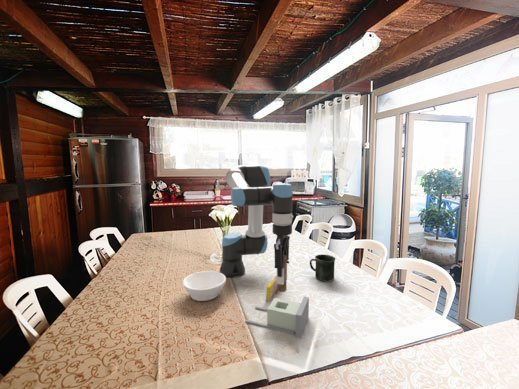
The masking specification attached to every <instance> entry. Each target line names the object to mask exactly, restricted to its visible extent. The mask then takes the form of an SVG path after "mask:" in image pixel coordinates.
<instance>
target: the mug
mask: <svg viewBox="0 0 519 389" xmlns="http://www.w3.org/2000/svg"><path fill="white" fill-rule="evenodd" d="M335 261H336V257H335V256H332V255H329V254H317V255H315V257H314V258H312V259H310V260H309V267H310V269H311V270H312V271H314V272H315V274H314V275H315V278H316V279H317V280H319V281H321V282H332V281H333V280H335V263H336V262H335ZM312 262H315V268H314V266H313V263H312Z"/></svg>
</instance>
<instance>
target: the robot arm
mask: <svg viewBox="0 0 519 389" xmlns="http://www.w3.org/2000/svg"><path fill="white" fill-rule="evenodd" d="M225 181H226V182H225V183H227V184H226V185H228V187H230V188H231V190H230V203H231V205H232V206H234V207H248V215H247V216H248V219H247V229H246V231H245V233H244V234H245V235H244V234H242V233H240V232H231V233H228V234H226V235H224V236H222V238H221V239H222V241H221V248H222V249H221V251H222V261H221V263H220V264H221V265H220V266H219V273H222V274H224V275H225V277H226V278H230V279H231V278H239V277H241V276H243V275H245V274H246V268H245V265H244V264H245V263H244V261H243V256H247V255H249V256H250V255H252V256H253V255H260V254H264V253H265V252H266V251H267V249H268V236H267V234H266V233H265V231H264V230H263V225H264V224H263V222H264V219H263V218H264V206H272V220H271V221H272V223H273V224H272V233H273V235H276V240H275V243H274V244H273V249H274V267H273V268H274V269H276V275H277V284H282V285H284V268H283V262H284V255H286V256H287V265H288V264H290V261H289V260H290V257H289V256H290V238H291V237H290V235H292V233H293V225H292V222H293V218H294V215H293V194H294V192H293V185H292V184H291V183H286V182H285V183H284V182H283V183H281V182H279V183H273V185H271V175H270V170H269V168H268V166H266V165H264V164H263V165H261V164H249V165H247V164H246V165H245V164H243V165H236V166H233V167H232V168H230V169H229V170H228V172H227V173H226V174H225ZM270 185H271V186H270Z"/></svg>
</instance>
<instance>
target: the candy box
mask: <svg viewBox="0 0 519 389" xmlns="http://www.w3.org/2000/svg"><path fill="white" fill-rule="evenodd" d="M265 292H266V293H265V301H267V302H270V301H271V300H273V299H272V298H274V296H275V295H277V294H278V293H279V291H278V290H277V274H276V275H275V276H274V277H273V279H272V280H271V281H270V282H269V283H268V285H266V290H265Z"/></svg>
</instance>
